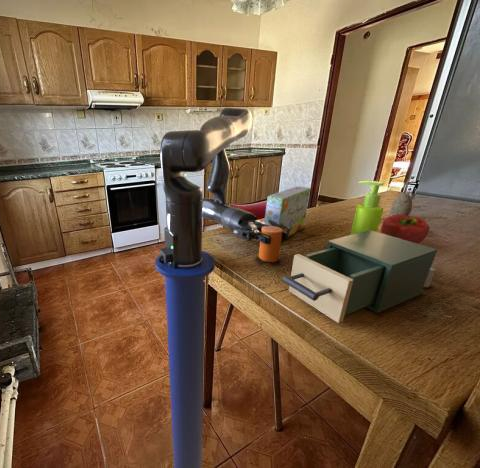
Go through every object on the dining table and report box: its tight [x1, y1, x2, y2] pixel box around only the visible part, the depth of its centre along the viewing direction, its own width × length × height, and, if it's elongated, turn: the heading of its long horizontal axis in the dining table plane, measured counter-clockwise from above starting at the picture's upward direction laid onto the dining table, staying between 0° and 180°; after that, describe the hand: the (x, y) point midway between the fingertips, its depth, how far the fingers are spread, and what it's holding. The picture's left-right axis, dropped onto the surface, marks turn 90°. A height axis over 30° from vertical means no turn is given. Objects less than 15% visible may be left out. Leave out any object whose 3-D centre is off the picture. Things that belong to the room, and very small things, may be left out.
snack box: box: [263, 185, 312, 242], centre depth 87 cm, size 21×6×15 cm, turn 132°
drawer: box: [281, 247, 386, 324], centre depth 51 cm, size 18×11×9 cm, turn 113°
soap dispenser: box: [349, 180, 385, 235], centre depth 72 cm, size 6×7×20 cm
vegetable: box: [380, 214, 430, 245], centre depth 75 cm, size 11×10×10 cm
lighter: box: [423, 267, 436, 288], centre depth 59 cm, size 7×2×8 cm, turn 179°
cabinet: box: [325, 230, 438, 314], centre depth 56 cm, size 15×13×11 cm
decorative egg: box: [389, 192, 413, 217], centre depth 98 cm, size 6×6×10 cm
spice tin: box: [258, 226, 282, 263], centre depth 69 cm, size 5×5×8 cm
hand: (278, 239), depth 66 cm, fingers closed on spice tin, 5 cm apart
